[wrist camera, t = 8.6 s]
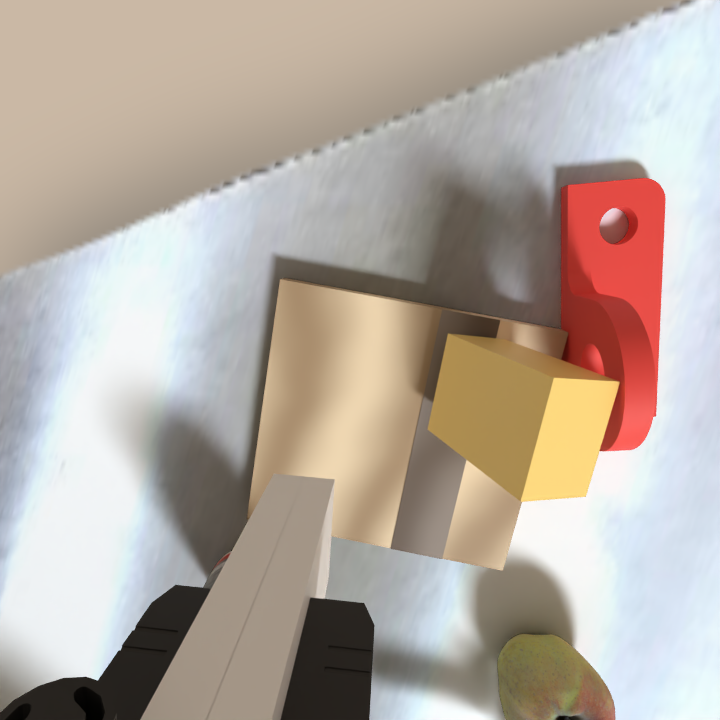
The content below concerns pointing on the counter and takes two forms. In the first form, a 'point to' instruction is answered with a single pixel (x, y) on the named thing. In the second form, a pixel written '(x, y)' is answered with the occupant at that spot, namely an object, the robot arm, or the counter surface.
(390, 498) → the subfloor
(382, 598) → the counter surface
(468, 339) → the block
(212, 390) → the counter surface
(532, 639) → the apple
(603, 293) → the bracket
